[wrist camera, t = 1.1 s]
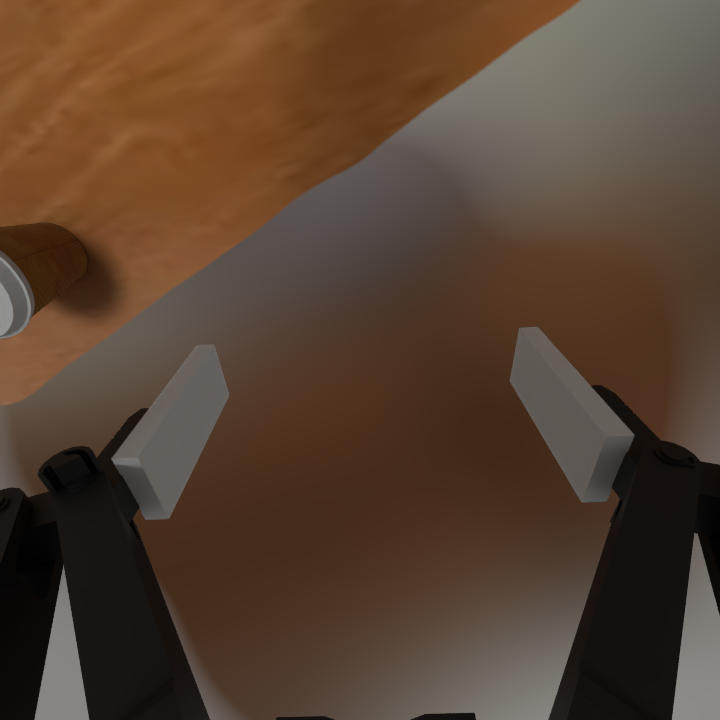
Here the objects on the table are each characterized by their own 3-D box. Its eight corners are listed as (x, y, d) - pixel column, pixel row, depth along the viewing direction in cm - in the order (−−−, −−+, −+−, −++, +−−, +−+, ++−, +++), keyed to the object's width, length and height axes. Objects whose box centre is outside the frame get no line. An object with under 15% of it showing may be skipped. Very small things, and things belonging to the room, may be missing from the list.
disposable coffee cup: (33, 295, 43) (-69, 346, 33) (-10, 206, 38) (-146, 233, 28) (116, 294, 43) (40, 344, 33) (83, 204, 38) (-19, 231, 28)
